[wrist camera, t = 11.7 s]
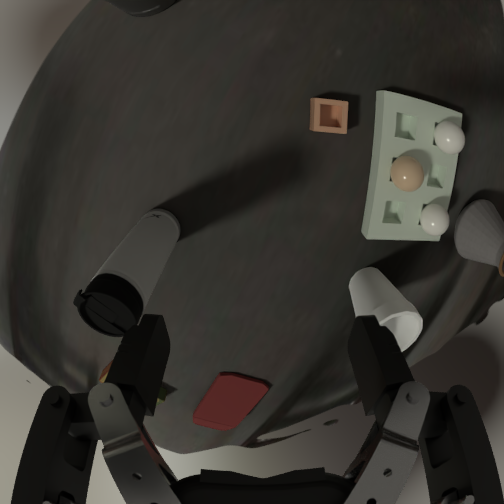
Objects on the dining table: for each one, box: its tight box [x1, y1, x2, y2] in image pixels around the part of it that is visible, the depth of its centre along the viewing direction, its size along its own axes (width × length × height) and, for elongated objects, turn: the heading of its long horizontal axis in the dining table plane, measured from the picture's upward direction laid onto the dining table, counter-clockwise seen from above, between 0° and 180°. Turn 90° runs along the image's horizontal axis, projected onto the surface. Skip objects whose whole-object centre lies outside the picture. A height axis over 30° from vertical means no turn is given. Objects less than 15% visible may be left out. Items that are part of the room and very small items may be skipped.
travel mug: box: [73, 209, 180, 337], centre depth 31 cm, size 6×7×20 cm
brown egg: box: [390, 156, 424, 192], centre depth 31 cm, size 5×5×5 cm
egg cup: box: [310, 98, 348, 134], centre depth 30 cm, size 4×4×2 cm
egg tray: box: [361, 90, 462, 241], centre depth 33 cm, size 21×14×2 cm, turn 0°
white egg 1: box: [420, 204, 449, 236], centre depth 34 cm, size 5×5×5 cm
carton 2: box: [193, 373, 269, 430], centre depth 62 cm, size 12×5×25 cm
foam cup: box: [349, 267, 423, 352], centre depth 39 cm, size 10×9×13 cm
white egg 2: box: [434, 121, 465, 155], centre depth 28 cm, size 5×5×5 cm
